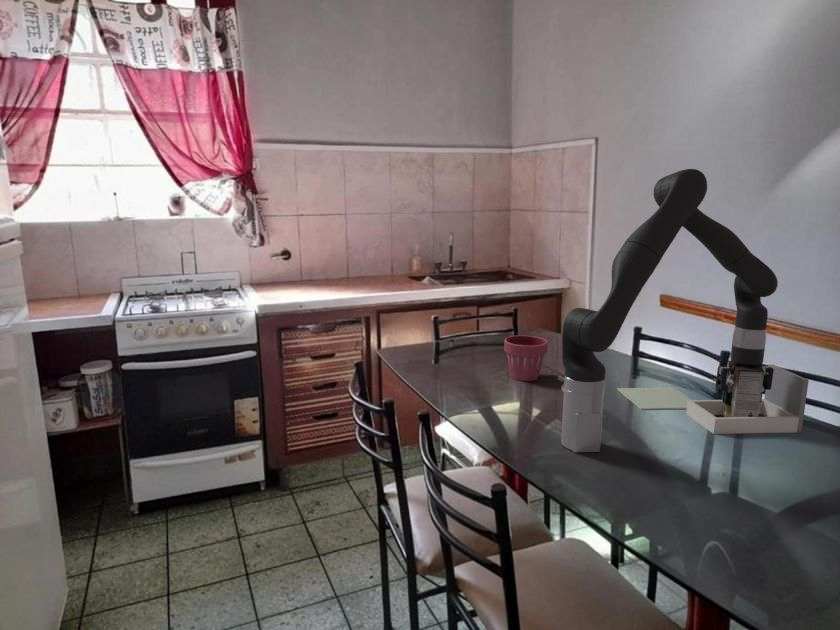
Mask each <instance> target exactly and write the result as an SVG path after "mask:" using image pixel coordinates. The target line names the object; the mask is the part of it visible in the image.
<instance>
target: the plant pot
mask: <svg viewBox="0 0 840 630" xmlns="http://www.w3.org/2000/svg"><path fill="white" fill-rule="evenodd" d="M503 342H504V345H503V350H504V352H505V353H506V356H507V363H508V368H509V374H510V378H512V379H513V380H515V381H520V382H531V381H532V382H533V381H536V380H538V379H539V375H540V373H541V369H542V366H543V365H542V364H543V362H544V357H545V355H546V354H547V353H548V347H549V346H548V343H549V342H548V340H547V339H545V338H543V337H539V336H535V335H527V334H526V335H524V334H523V335H522V334H521V335H520V334H519V335H518V334H517V335H512V336H511V335H510V336H507V337H506V338H505V339H504V341H503Z"/></svg>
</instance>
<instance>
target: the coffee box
mask: <svg viewBox="0 0 840 630" xmlns="http://www.w3.org/2000/svg"><path fill="white" fill-rule="evenodd" d="M730 364H731V360H728V363H727V367H729V366H730ZM728 374H729V375H727V379H728V377H729V376H730V375H731V373H730V372H729V373H728ZM763 378H764V370H762V369H761V368H760V367H759V366H739V367H735V373H734V375H733V374H732V375H731V380H732V381H733V382H734V385H733V391H732V392H731V393H732V400H731V406H727V405H725V404H724V407H723V415H722V417H760V414H759V408H760V401H761V393H762V385H763ZM726 382H727V380H726ZM762 394H763V393H762Z"/></svg>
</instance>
